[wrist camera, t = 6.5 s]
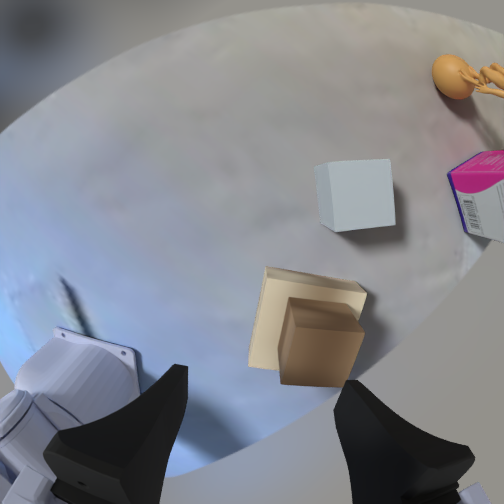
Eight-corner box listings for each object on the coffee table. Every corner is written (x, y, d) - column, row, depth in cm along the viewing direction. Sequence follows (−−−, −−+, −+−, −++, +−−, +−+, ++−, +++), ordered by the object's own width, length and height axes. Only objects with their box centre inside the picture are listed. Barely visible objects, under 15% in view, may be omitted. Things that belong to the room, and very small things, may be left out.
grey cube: (319, 222, 19) (335, 232, 16) (313, 166, 19) (327, 162, 15) (371, 217, 19) (395, 225, 15) (365, 163, 18) (389, 159, 14)
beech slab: (249, 345, 22) (248, 366, 19) (265, 264, 21) (267, 277, 18) (329, 354, 22) (337, 375, 19) (353, 279, 21) (367, 293, 18)
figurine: (453, 54, 15) (534, 14, 4) (483, 110, 16) (574, 94, 5) (399, 74, 16) (494, 15, 5) (436, 139, 18) (549, 124, 6)
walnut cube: (277, 347, 19) (280, 384, 15) (288, 296, 18) (295, 326, 14) (331, 352, 19) (344, 387, 15) (346, 303, 18) (365, 332, 14)
